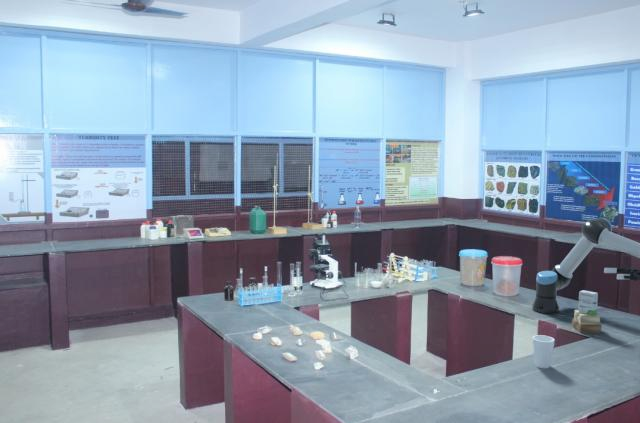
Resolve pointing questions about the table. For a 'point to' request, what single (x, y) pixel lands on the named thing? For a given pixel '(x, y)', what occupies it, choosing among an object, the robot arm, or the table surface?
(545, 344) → the foam cup
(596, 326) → the bottom block
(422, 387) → the table surface
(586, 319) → the top block
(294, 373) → the table surface
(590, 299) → the ink box
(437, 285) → the table surface
